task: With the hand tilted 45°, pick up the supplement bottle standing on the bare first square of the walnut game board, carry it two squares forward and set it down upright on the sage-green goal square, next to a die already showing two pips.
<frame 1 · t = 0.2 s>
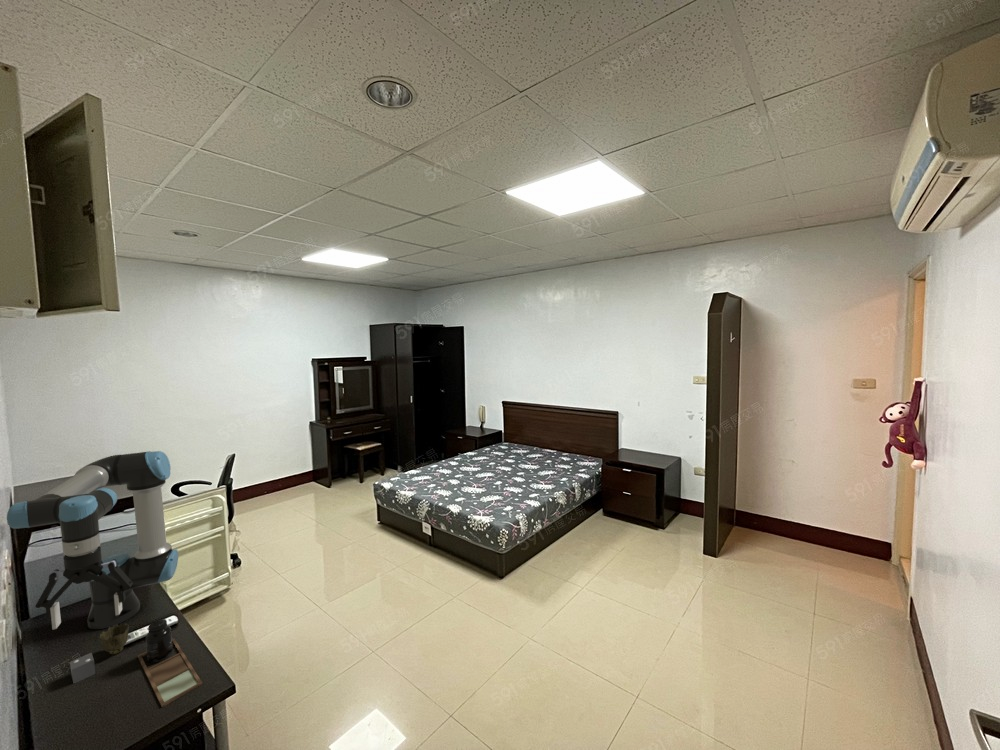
hand: (88, 619, 119), 28 cm above the table, tool pointing down, fingers open, 13 cm apart
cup: (116, 652, 143), on the table
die: (83, 674, 133), on the table
supplement bottle: (160, 656, 141), resting on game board
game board: (168, 670, 135), on the table
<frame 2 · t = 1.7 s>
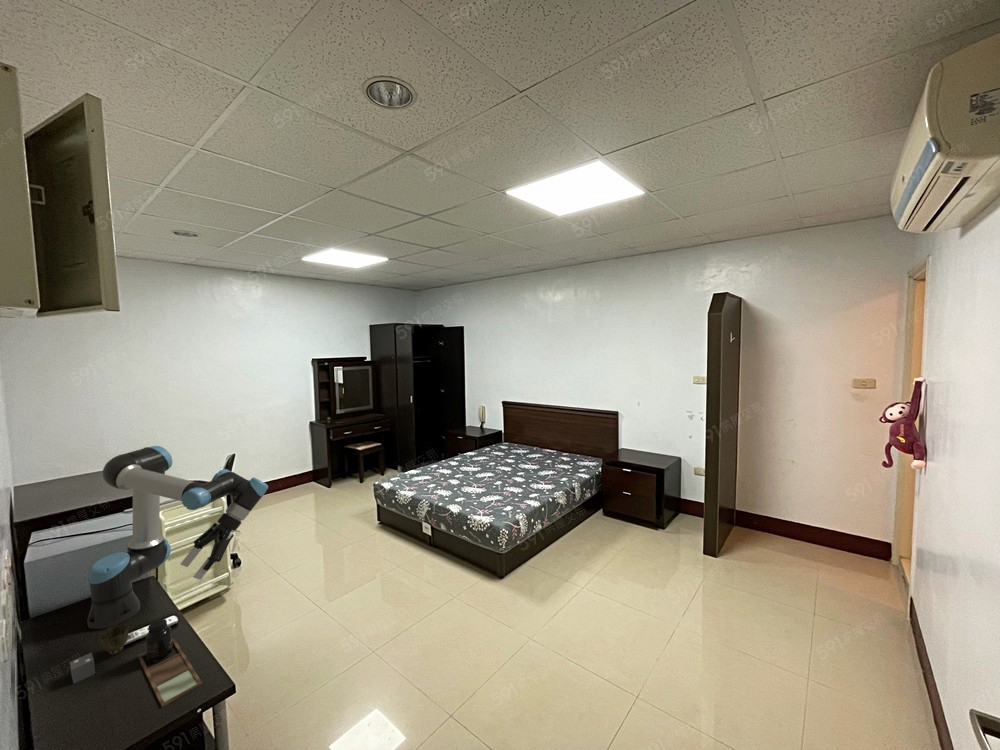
hand: (190, 572, 146), 26 cm above the table, tool tilted 45°, fingers open, 13 cm apart
nothing on the table moved.
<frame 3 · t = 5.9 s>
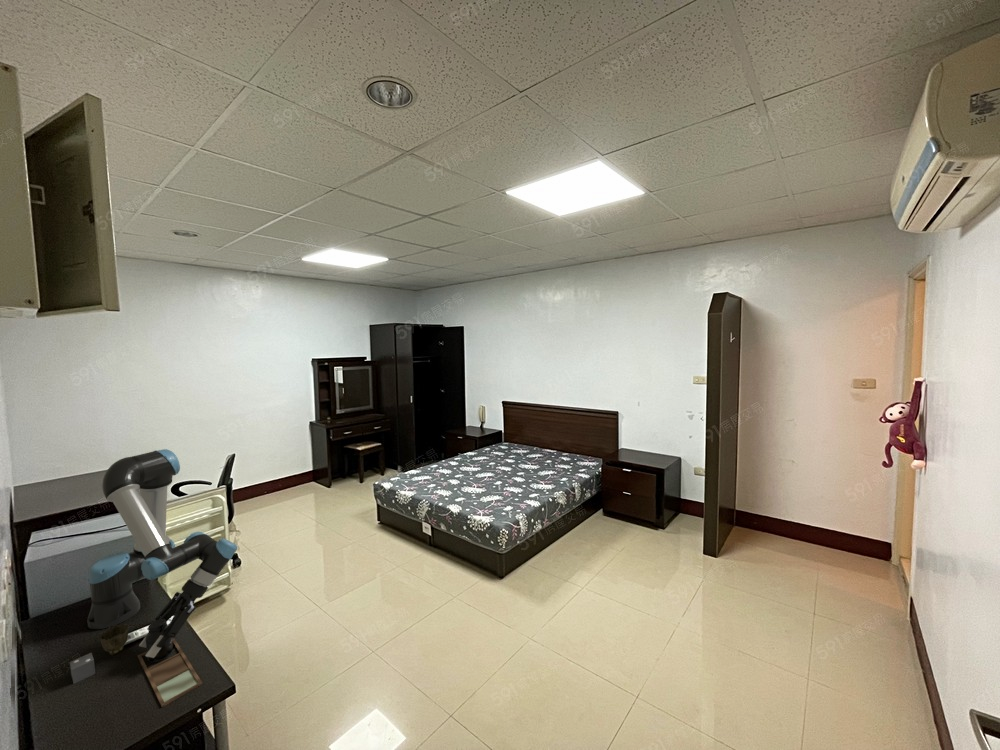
hand: (146, 651, 138), 4 cm above the table, tool tilted 45°, fingers closed on supplement bottle, 7 cm apart
supplement bottle: (160, 656, 141), resting on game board, touching gripper
everything else where it was.
when the fingers open (5 cm above the table, at t = 12.0 s): supplement bottle stays where it is, resting on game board.
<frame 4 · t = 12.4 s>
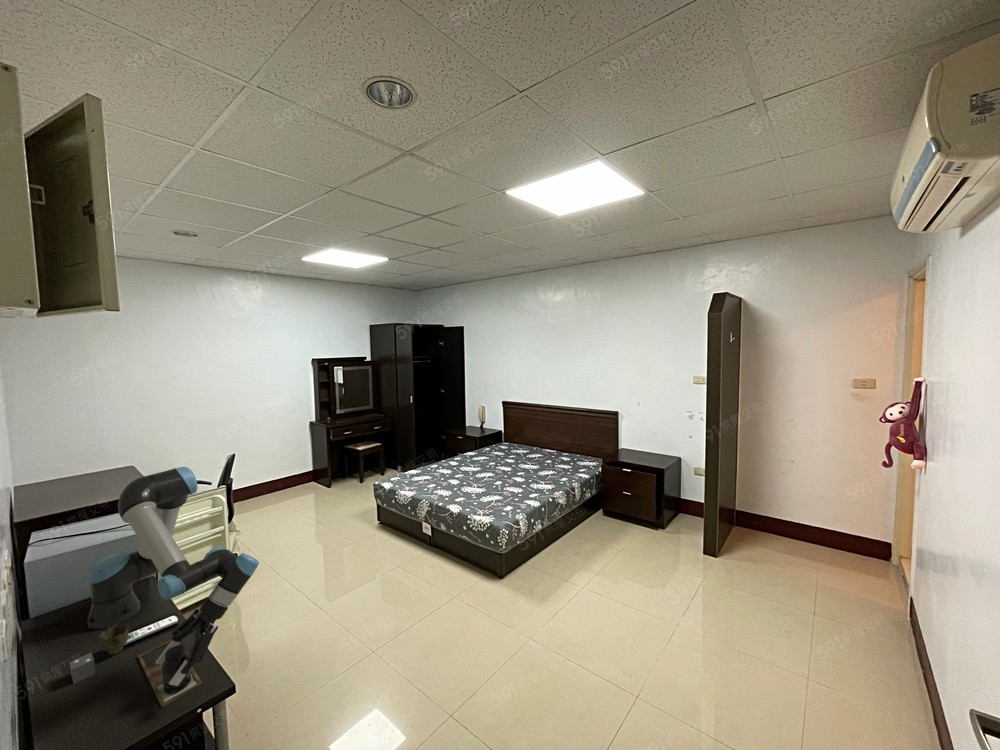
hand: (166, 674, 126), 6 cm above the table, tool tilted 45°, fingers open, 12 cm apart
supplement bottle: (177, 686, 129), resting on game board
everything else where it was.
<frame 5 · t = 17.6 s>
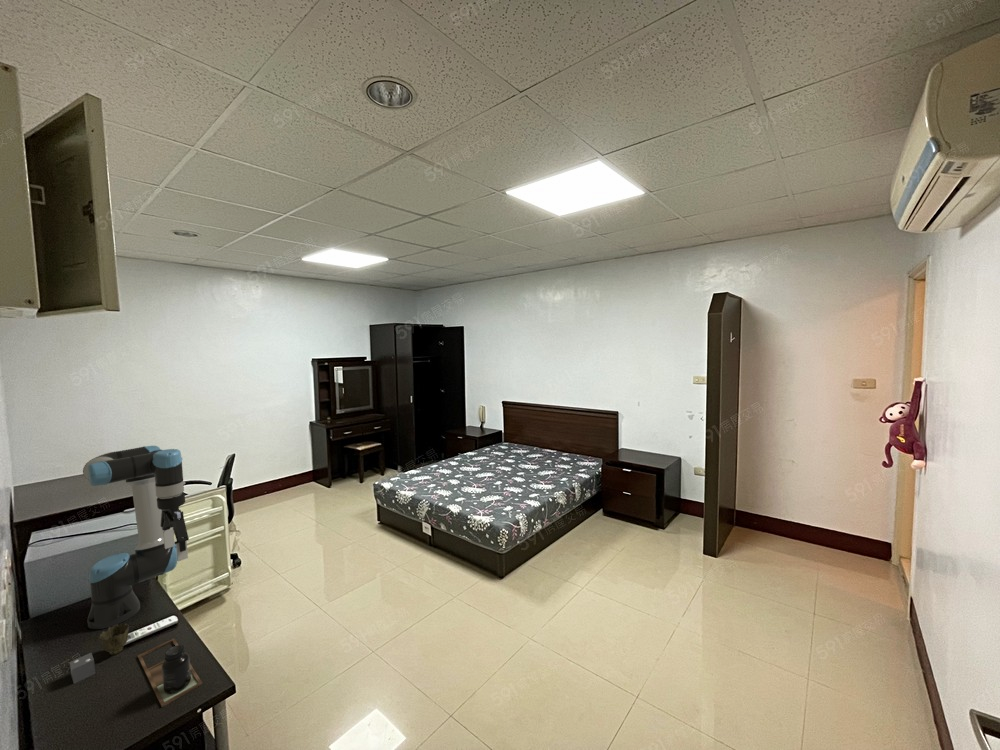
hand: (176, 553, 142), 35 cm above the table, tool pointing down, fingers open, 13 cm apart
nothing on the table moved.
at the end: supplement bottle 0.1 cm from the target spot on the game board, point 0.0 cm above the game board's base; supplement bottle tilted 0°; the gripper is holding nothing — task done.
